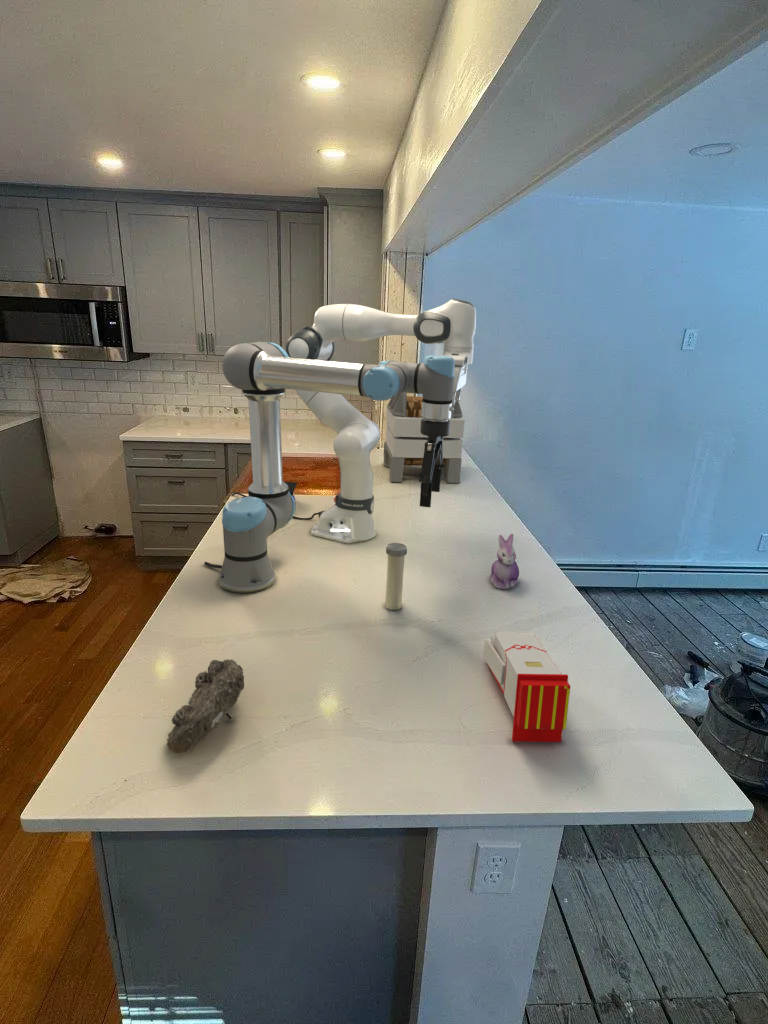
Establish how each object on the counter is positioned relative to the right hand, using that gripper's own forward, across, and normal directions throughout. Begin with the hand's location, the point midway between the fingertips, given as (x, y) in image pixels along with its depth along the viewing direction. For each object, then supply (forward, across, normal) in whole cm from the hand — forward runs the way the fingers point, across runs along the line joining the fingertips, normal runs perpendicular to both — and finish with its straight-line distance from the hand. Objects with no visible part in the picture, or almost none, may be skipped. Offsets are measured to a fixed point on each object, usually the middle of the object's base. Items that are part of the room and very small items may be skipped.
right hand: (454, 403), depth 174 cm
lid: (+31, +45, -5) cm, 55 cm away
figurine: (+48, +20, +22) cm, 57 cm away
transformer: (+48, -86, -27) cm, 102 cm away
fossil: (+48, +98, -26) cm, 112 cm away
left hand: (+20, +34, +1) cm, 39 cm away
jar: (+48, +45, -5) cm, 66 cm away
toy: (+48, +72, +29) cm, 91 cm away
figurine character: (+48, -19, -66) cm, 84 cm away
